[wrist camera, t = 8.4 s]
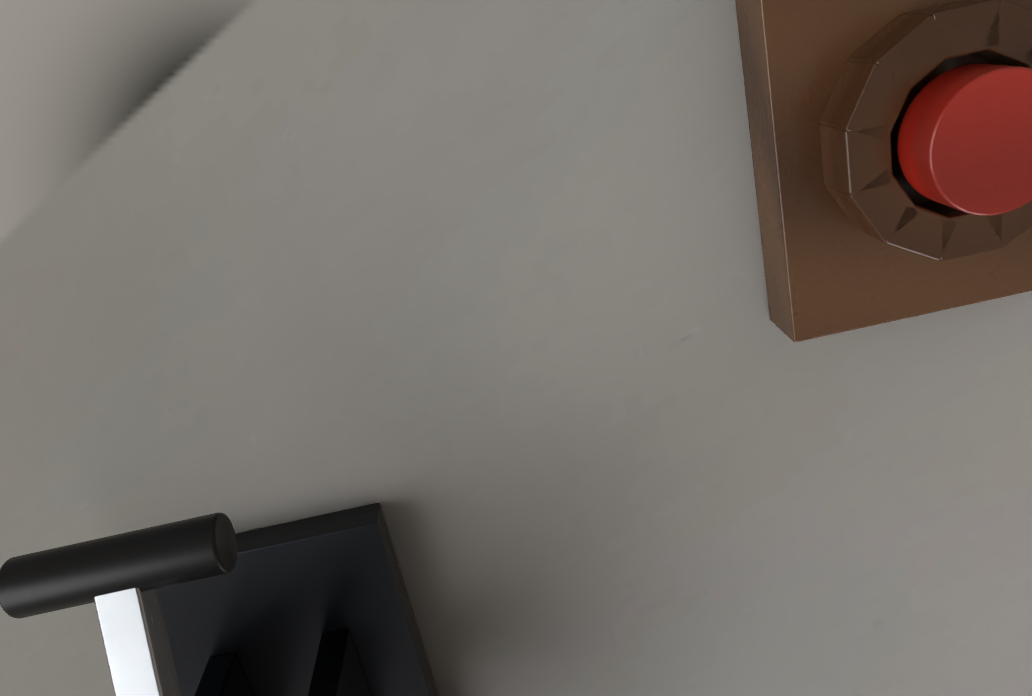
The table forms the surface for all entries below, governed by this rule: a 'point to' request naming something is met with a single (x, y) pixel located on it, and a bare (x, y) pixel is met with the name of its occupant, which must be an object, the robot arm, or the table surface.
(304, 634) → the bracket
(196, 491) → the table surface
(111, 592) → the lever
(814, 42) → the button block
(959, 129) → the button
